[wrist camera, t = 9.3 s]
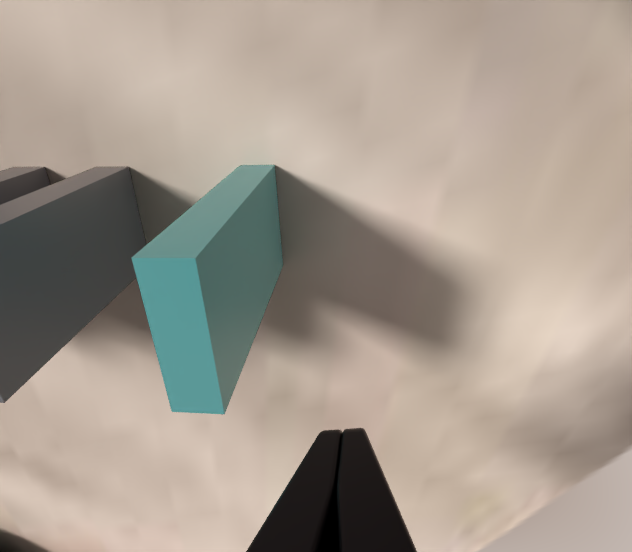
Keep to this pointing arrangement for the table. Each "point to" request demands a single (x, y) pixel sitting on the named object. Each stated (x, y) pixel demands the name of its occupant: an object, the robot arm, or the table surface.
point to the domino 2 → (212, 287)
